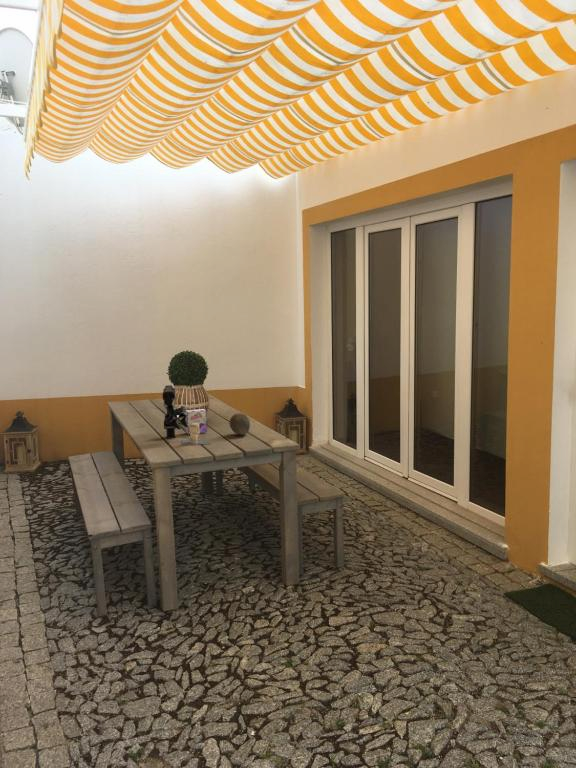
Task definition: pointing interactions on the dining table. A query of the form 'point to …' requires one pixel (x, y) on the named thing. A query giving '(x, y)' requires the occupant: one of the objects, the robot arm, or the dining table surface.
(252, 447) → the dining table surface
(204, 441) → the rubber mat
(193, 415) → the candy box
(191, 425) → the birch block
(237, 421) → the cantaloupe
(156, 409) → the dining table surface
